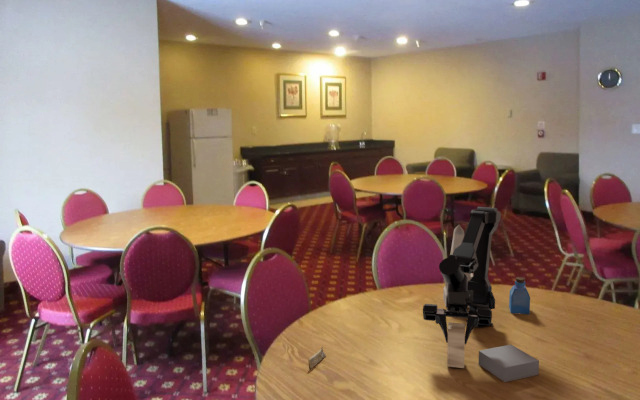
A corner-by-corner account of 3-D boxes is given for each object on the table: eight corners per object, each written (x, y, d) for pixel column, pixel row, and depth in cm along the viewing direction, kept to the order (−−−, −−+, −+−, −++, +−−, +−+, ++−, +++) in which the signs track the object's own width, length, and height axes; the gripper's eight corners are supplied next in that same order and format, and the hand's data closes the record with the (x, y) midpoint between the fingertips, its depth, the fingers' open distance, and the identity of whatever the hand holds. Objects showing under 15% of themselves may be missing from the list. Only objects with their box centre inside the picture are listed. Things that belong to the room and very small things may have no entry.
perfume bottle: (527, 308, 189) (528, 276, 187) (529, 314, 183) (530, 281, 181) (509, 307, 191) (510, 275, 189) (510, 313, 185) (511, 280, 183)
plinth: (510, 357, 150) (511, 344, 150) (538, 374, 140) (539, 360, 140) (478, 364, 147) (478, 350, 146) (504, 382, 136) (505, 367, 136)
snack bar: (310, 370, 145) (310, 360, 145) (306, 369, 146) (305, 359, 145) (326, 356, 154) (326, 347, 153) (321, 355, 154) (321, 346, 154)
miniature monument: (441, 297, 202) (443, 221, 197) (469, 298, 200) (471, 221, 196) (444, 307, 192) (445, 227, 187) (473, 308, 190) (476, 227, 186)
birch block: (447, 359, 149) (448, 322, 147) (464, 360, 147) (465, 323, 146) (447, 366, 144) (447, 328, 143) (464, 368, 143) (465, 329, 141)
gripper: (423, 276, 149) (420, 328, 140) (492, 280, 144) (493, 334, 135) (425, 294, 157) (422, 344, 148) (490, 298, 152) (491, 350, 143)
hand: (456, 343), depth 144 cm, fingers closed on birch block, 4 cm apart
